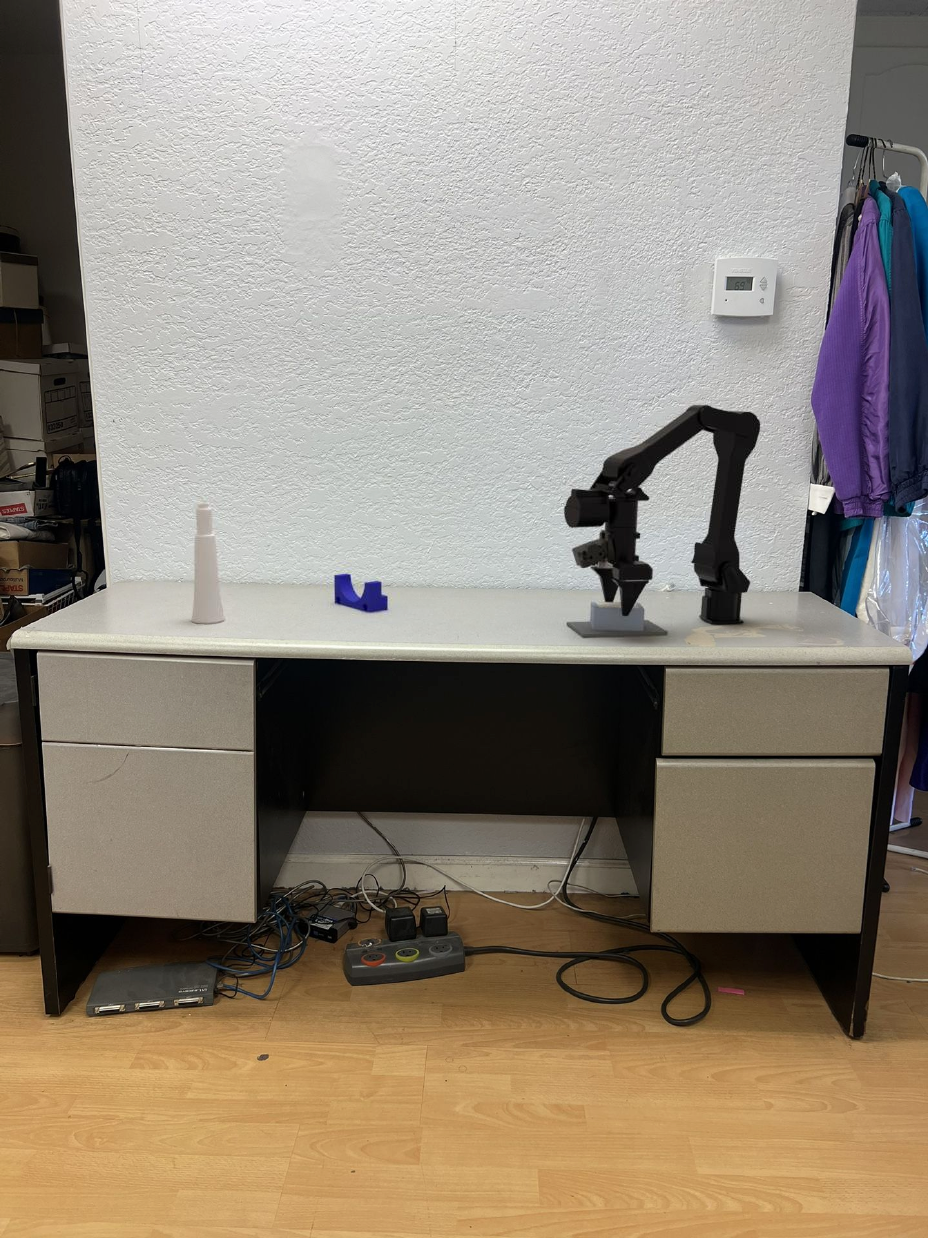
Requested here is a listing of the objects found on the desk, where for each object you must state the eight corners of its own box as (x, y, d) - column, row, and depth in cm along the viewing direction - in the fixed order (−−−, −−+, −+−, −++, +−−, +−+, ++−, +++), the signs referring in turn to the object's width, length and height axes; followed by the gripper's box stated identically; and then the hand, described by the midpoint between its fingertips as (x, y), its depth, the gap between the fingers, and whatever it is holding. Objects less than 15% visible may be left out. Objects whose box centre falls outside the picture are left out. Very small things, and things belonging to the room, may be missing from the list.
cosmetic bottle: (191, 624, 183) (186, 504, 178) (191, 617, 188) (186, 501, 184) (225, 623, 184) (221, 504, 180) (224, 616, 190) (219, 500, 185)
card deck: (590, 622, 187) (590, 601, 186) (638, 623, 187) (639, 602, 186) (593, 629, 181) (594, 607, 180) (643, 630, 181) (644, 608, 180)
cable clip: (387, 610, 198) (387, 581, 197) (369, 613, 195) (369, 583, 194) (352, 601, 207) (352, 572, 206) (334, 603, 204) (334, 575, 203)
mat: (647, 622, 190) (647, 619, 190) (667, 634, 180) (667, 631, 180) (566, 625, 187) (566, 622, 187) (582, 637, 177) (582, 634, 177)
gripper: (563, 520, 187) (560, 601, 190) (593, 533, 169) (590, 622, 173) (619, 519, 189) (615, 600, 192) (656, 532, 171) (651, 621, 175)
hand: (616, 610), depth 183 cm, fingers open, 9 cm apart
